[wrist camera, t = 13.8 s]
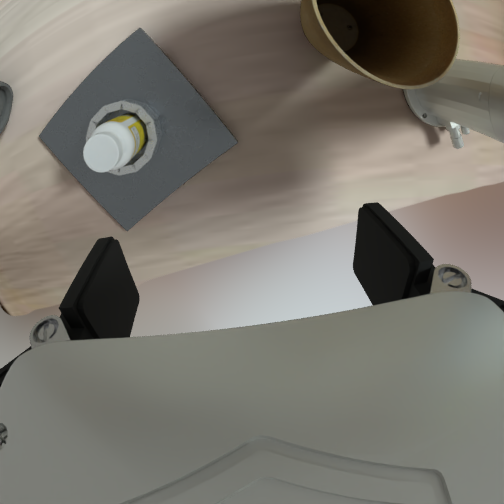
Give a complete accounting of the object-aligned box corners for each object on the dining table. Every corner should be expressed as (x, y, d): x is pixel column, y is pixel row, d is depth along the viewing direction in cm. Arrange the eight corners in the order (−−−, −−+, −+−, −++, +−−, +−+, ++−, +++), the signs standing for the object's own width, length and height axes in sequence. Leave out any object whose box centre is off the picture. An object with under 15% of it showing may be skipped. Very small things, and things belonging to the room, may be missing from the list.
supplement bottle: (102, 139, 32) (68, 160, 24) (125, 105, 30) (93, 115, 22) (133, 161, 34) (107, 189, 26) (157, 128, 33) (136, 145, 24)
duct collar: (237, 141, 36) (239, 147, 32) (129, 228, 41) (121, 242, 37) (141, 28, 26) (132, 23, 22) (42, 134, 31) (27, 141, 27)
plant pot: (255, 52, 29) (280, 30, 16) (299, -35, 22) (344, -87, 9) (359, 100, 33) (432, 121, 20) (395, 18, 26) (474, 7, 13)
